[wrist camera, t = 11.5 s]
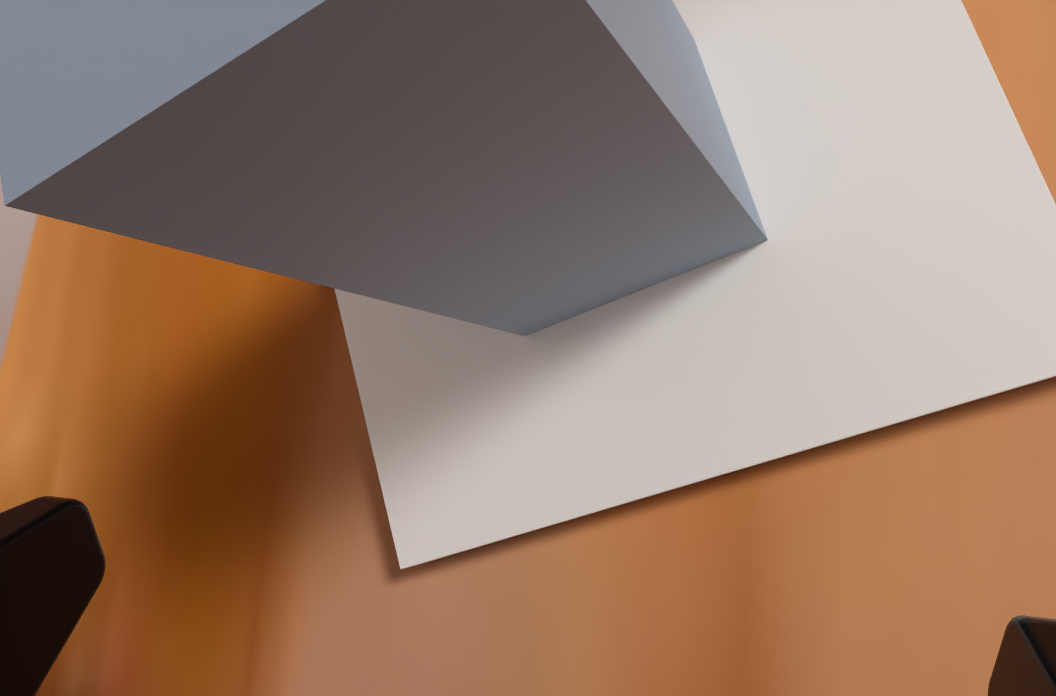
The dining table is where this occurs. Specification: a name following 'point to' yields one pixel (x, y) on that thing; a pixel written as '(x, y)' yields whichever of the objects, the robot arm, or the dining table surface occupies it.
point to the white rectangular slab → (747, 292)
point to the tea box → (383, 143)
